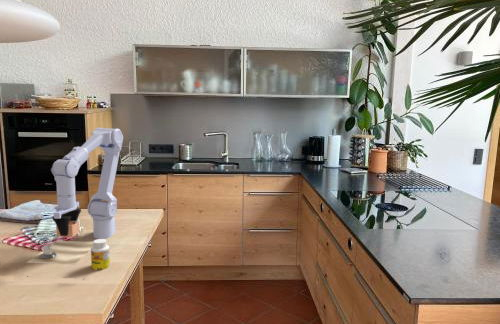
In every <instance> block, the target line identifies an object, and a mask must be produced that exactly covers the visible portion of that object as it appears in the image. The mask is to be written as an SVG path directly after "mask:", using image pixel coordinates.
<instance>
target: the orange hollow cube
mask: <svg viewBox="0 0 500 324" xmlns="http://www.w3.org/2000/svg"><path fill="white" fill-rule="evenodd" d="M55 228H56V237H57V238H74V237H75V236H76V235H77V234H79V233H80V221H79V220H77V221H70V222H69V227H68V235H67V236H61V235H60V233H59V230H58V227H57V225H56V224H55Z"/></svg>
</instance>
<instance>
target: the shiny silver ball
mask: <svg viewBox="0 0 500 324" xmlns="http://www.w3.org/2000/svg"><path fill="white" fill-rule="evenodd" d="M42 251H43V254H41V255H40V256H39V258H41V259H49V258H53V257H55V256H56V253H55V252H52V244H45V245H43V246H42Z"/></svg>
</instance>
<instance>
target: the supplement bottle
mask: <svg viewBox="0 0 500 324" xmlns="http://www.w3.org/2000/svg"><path fill="white" fill-rule="evenodd" d="M92 242H93V247H92V248H91V250H90V257H91V261H90V262H91V263H90V264H91V270H94V271H103V270H107V269H109V268H110V266H111V260H110V255H111V254H110V246H109V245H108V244H107V242H108V241H107V239H106V238H105V239H94V240H92Z"/></svg>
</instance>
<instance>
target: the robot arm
mask: <svg viewBox="0 0 500 324" xmlns="http://www.w3.org/2000/svg"><path fill="white" fill-rule="evenodd" d="M123 140H124V136H123V132H122V131H121V129H120V128H105V127H96V128H95V129H94V130H93V131H92V132H91V136H90V137H89V138H88V139H87V140H86V141H85V142H84V143H83V144H82V145H81V146H74V147H73V148H72V150H71V151H69V152H68V154H66V155H64V156H63V157H62V159H57V160H56V161H54V162H53V164H52V167H51V168H50V171H51V173H52V175H53V176H54V181H55V182H56V200H57V203H56V204H57V205H56V206H54V208H53V209H54V210H55V211H54V212H53V215H52V218H51V219H52V221H53V222H54V224H55V226H56V225H57V227H58V230H59V233H60V235H61V236H67V235H68V227H69V222H70V221H78V218H79V216H80V214H81V212H82V208H80V201H77V198H76V178H75V177H76V176H77V175H78V172H79V170H80V168H81V166H82V165H83V164H84V163H85V162H86V161H88V160H89V158H90V157H89V156H90V155H89V154H90V153H92V152H93V151H94V150H95V149H97V148H98V147H99V148H100V149H101V150H103V152H104V157H103V158H104V159H103V164H102V167H101V174H100V178H99V184H98V189H97V191H96V193H94V194H93V195H91V197H90V201H89V202H88V204H87V214H88V215H89V216H90V218H91V219H92V227H93V228H92V229H93V231H92V232H93V238H94V239H95V240H97V239H105V240H106V239H108V238H112V237H113V236H114V234H115V233H116V232H117V231H116V218H115V216H116V214H117V211H118V206H117V204H118V199H117V198H116V197H115V196H114V194H113V189H114V185H115V179H116V174H117V168H118V163H119V158H120V152H121V151H122V146H123V142H124V141H123Z"/></svg>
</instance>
